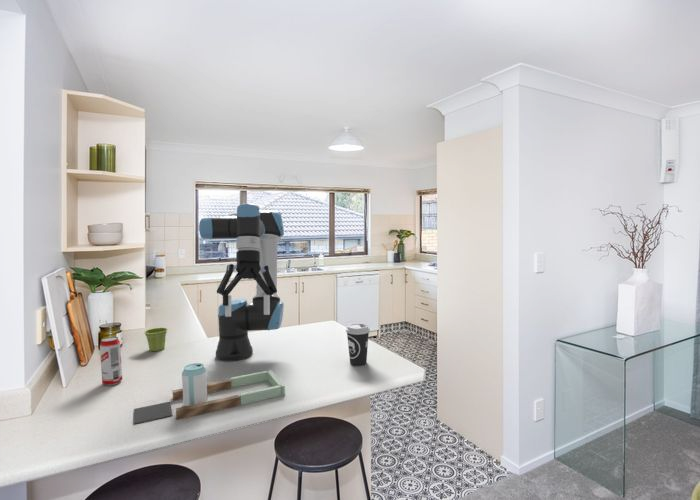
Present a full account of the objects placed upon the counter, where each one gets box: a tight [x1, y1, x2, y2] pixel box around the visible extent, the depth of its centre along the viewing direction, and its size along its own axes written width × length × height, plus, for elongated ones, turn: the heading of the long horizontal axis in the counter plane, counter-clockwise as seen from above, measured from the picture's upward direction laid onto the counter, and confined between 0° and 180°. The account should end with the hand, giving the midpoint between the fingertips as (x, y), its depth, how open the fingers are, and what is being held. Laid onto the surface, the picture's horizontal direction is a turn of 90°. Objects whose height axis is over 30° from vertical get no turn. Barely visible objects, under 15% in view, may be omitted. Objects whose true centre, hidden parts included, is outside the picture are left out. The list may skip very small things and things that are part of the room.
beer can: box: [99, 336, 123, 387], centre depth 140 cm, size 6×6×16 cm
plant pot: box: [143, 327, 168, 352], centre depth 177 cm, size 9×9×9 cm
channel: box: [172, 378, 241, 420], centre depth 124 cm, size 18×16×2 cm
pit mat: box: [133, 401, 173, 425], centre depth 118 cm, size 10×10×1 cm
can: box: [181, 362, 208, 407], centre depth 123 cm, size 7×7×12 cm
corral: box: [229, 369, 286, 406], centre depth 132 cm, size 14×16×3 cm
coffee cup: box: [345, 322, 371, 367], centre depth 156 cm, size 10×10×15 cm
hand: (248, 315), depth 128 cm, fingers open, 13 cm apart
